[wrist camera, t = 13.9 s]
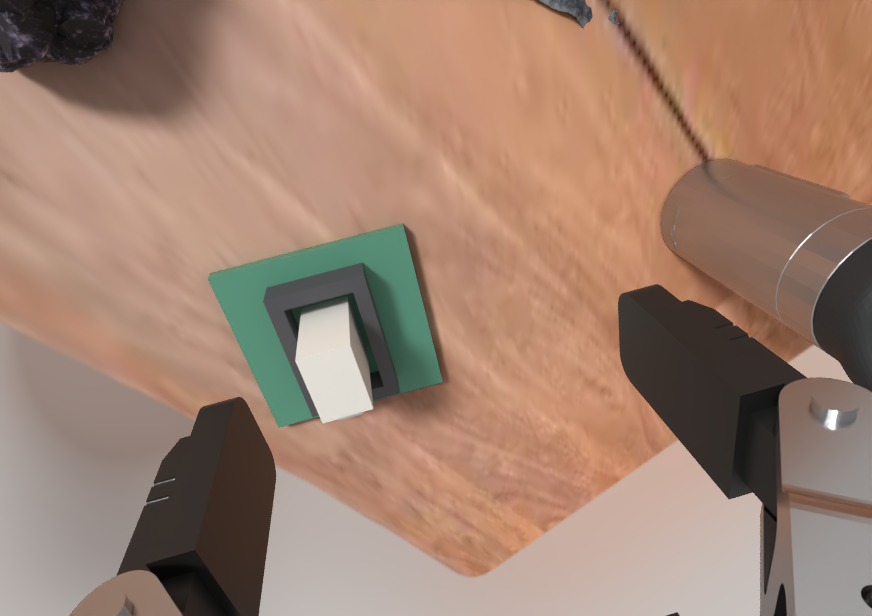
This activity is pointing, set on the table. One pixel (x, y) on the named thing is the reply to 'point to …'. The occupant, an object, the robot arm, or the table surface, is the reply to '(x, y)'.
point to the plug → (334, 360)
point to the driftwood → (577, 10)
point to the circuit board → (319, 282)
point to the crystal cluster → (54, 31)
